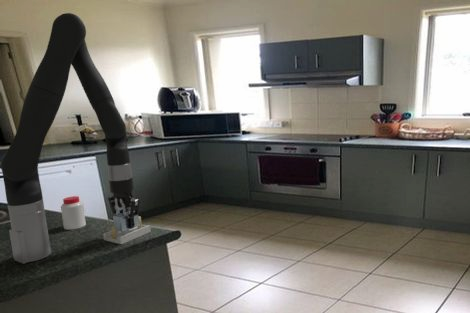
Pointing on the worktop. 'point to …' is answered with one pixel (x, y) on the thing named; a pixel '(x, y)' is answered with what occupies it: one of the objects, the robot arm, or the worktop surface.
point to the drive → (123, 221)
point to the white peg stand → (126, 233)
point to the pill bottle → (73, 213)
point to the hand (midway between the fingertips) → (126, 226)
